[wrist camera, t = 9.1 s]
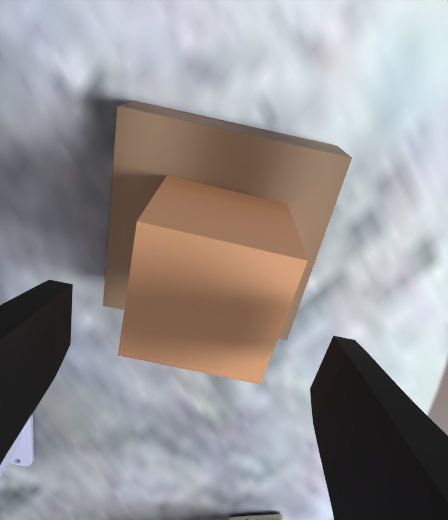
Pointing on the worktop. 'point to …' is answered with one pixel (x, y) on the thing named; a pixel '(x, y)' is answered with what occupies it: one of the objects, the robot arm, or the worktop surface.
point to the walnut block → (216, 179)
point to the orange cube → (210, 280)
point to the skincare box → (259, 517)
